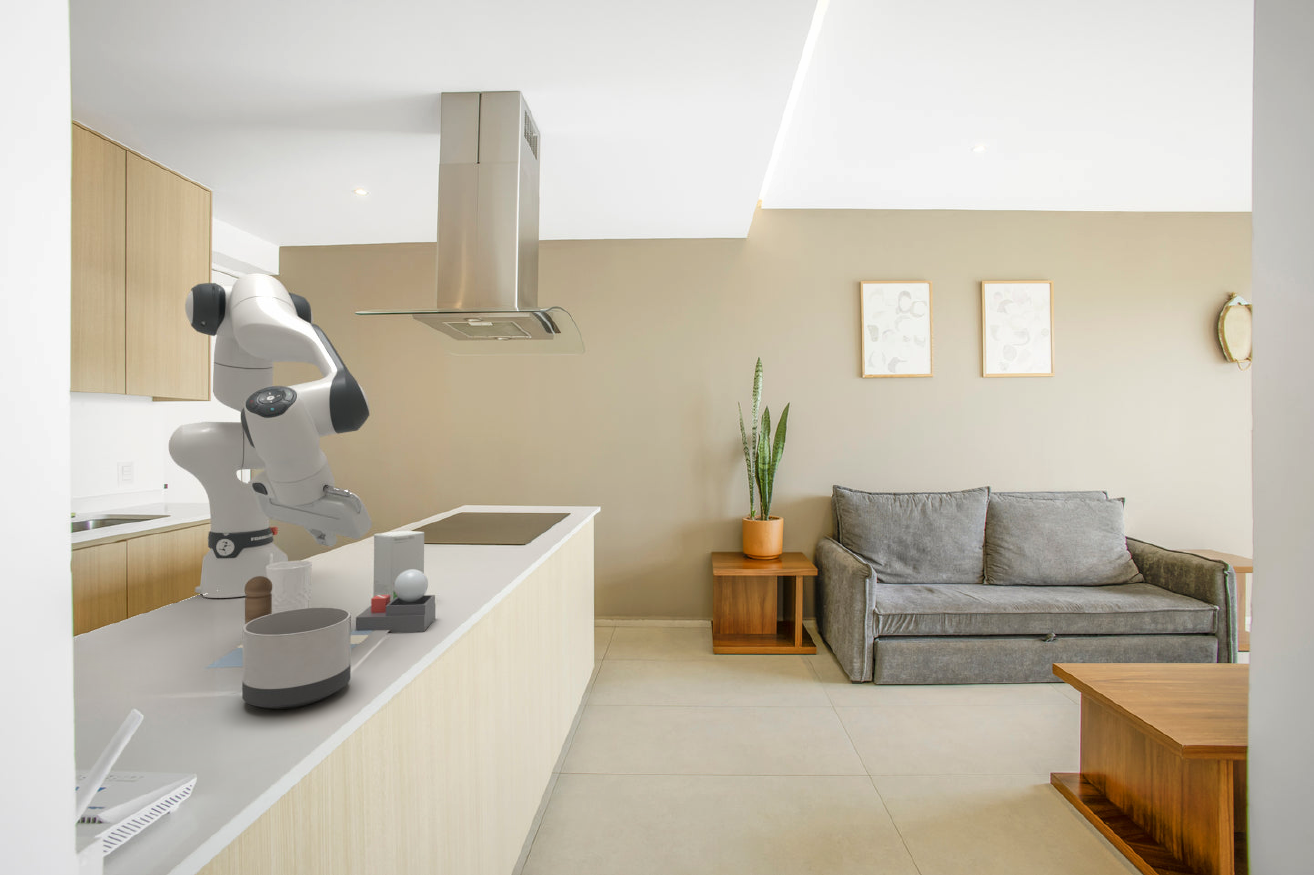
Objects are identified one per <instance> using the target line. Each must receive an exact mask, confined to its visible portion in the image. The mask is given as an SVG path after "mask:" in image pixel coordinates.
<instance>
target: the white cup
mask: <svg viewBox="0 0 1314 875" xmlns="http://www.w3.org/2000/svg"><path fill="white" fill-rule="evenodd" d="M312 563H313V562H311V561H309V560H288V561H286V562H279V563H274V564H270V565H268V566H266V578H268V579H269V580H270V581H271V582H272V591H271V594H272V614H273V613H277V612H282V611H287V610H293V609H301V608H309V603H310V601H309V600H310V597H311V596H310V595H311V585H312V584H311V583H312V569H313V568H312V567H313V564H312Z"/></svg>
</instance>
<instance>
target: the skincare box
mask: <svg viewBox="0 0 1314 875" xmlns="http://www.w3.org/2000/svg"><path fill="white" fill-rule="evenodd" d="M424 563H425V532H424V531H417V530H416V531H414V530H400V531H399V530H398V531H389V532H380V533H374V534H373V592H372V594H373V595H372V598H373V597H374V596H376V595H390V602H391V601H392V600H393V599H395V598H396V597H397V595H396V594H395V591H394V583H395V580H396V578H397V577H398V576H399V575H400V574H401V573H402V572H404V571H406V570H410V569H415V570H419V571H421V572H422V573H424V574H425V564H424Z"/></svg>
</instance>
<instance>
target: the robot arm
mask: <svg viewBox="0 0 1314 875" xmlns="http://www.w3.org/2000/svg"><path fill="white" fill-rule="evenodd" d="M185 299H186V300H185V303H184V308H185V309H184V310H185V314H186V317H187V319H188V321H189V323H190V327H192V328H193V329H194V330H195V331H196V332H197V333H201V334H202V335H203V334H204V335H208V336H212V337H216V338H215V343H214V352H213V372H212V393H213V396H214V397H215V399H216V400H217V401H218V402H220V403H221V404H222V405H224V406H226V407H228V408H229V409H230V408H231V409H232V410H235V411H238V412H240V422H239V421H238V422H236V421H235V422H234V421H233V422H232V421H225V422H224V421H202V422H193V423H188V424H182V425H179V426H178V427H177V428H176V429H175V430H174V432H172V434H171V436H170V438H169V442H168V451H169V454H170V455H169V456H170V457H171V459H172V460H173V462H174V463H175V464H176V465H177V466H179V467H180V468H181V469H184V470H185V471H187V472H189V474H191V475H192V476H193V477H194V478H196V479H197V481H198V482H199V483H200V484H201V485H202V486H203V489H204V490H205V493H206V494H207V498H208V501H209V502H208V504H209V513H210V531H209V532H208V537H207V547H208V548H209V550H208V552H207V553H205V555H204V556H203V558H202V564H201V566H202V567H201V575H200V585H198V586H195V588H194V589H195V590H194V593H197V594H200V595H201V594H205V593H208V594H206V595H203V596H202V597H203V598H210V599H211V598H212V599H213V598H214V599H218V598H219V599H222V598H223V599H224V598H225V599H226V598H238V597H246V594H245V592H244V588H245V585H246V583H247V582H248V581H249V580H250V579H252V578H254V577H257V576H264V577H266V566H268V565H270V564H274V563H279V562H286V561H289V558H288V554H286V553H285V552H284V551H283V550H281V549H280V548H279V547H278V546H277V545H276V544H275V543H274V542H275V541H274V537H273V536H277V535H278V533H279V528H278V527H277V526H272V527H271V526H270V520H273V521H279V522H282V523H287V524H291V525H295V526H299V527H304V529H305V531H307V533H309V535H310V536H311V537H313V538H314V541H315V543H316V544H317V545H321V546H325V547H329V548H332V547H333V546H335V544H337V542H338V539H337V536H336V535H338V536H342V537H347V538H350V539H355V540H359V539H360V538H362V537H363V536H365V534H367V532H368V531H370V529H372V526H373V521H372V518H371V516H370V514H369V511H368V509H367V507H366V505H365V504H364V502H363V501H362V499H361V498H360V497H359V495H357V494H355V493H353V492H351V491H350V490H349V489H346V488H340V487H335V484H336V480H335V478H334V475H333V472H332V469H331V466H330V463H329V461H328V457H327V455H326V454H325V453H324V451H323V450H322V448H321V445H320V438H322V437H327V436H331V435H335V434H339V435H340V434H344V433H350V432H358V430H360V428H362V426H364V424H365V422H366V421H367V420H368V418H369V417H370V402H369V399H368V396H367V394H366V392H365V390H364V388H363V387H362V386H361V385H360V384H359V382H358V381H357V380H356V378H355V377H354V376H353V374H352V373H351V372H350V370H349V369H348V368H347V366H346V364H345V362H344V361H343V360H342V358H341V356H340V354H339V353H338V351H337V350H336V348H335V347H334V345H333V343H332V342H331V340H330V338H328V336H327V334H326V333H325V332H324V331H323V329H322V328H321V327H320V326H319V325H318V324H316V323H314V315H313V311H312V308H311V304H310V303H309V301H308V300H307V299H306V298H305V297H304V296H302V295H299V294H296V293H292V292H288V290H287V289H286V287H285V286H284V285H283V283H281V281H280V280H279V279H277V278H275V277H274V276H271V275H269V274H265V273H260V272H252V273H247V274H245V275H242V276H240V278H238V279H236V281H235V282H234V283H233V285H232V284H230V285H229V284H217V283H216V282H206V283H198V284H196V285H194V286H193V287H191V288H190V291H189V293H188V295H187V297H186V298H185ZM285 362H286V363H307V364H311V365H314V366H316V367H317V368H318V370H319V372H320V373H321V375H322V377H323V378H321V379H318V380H313V381H309V382H302V383H298V384H293V385H288V386H283V385H275V386H274V363H285ZM242 470H262V471H261V472H259V473H258V474H256V475H255V476H254V477H253V478H251V479H249V481H248V482H244V481H242V480H240V479H239V478H238V474H237V472H238V471H242ZM217 590H218V591H217Z"/></svg>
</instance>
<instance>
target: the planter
mask: <svg viewBox="0 0 1314 875" xmlns="http://www.w3.org/2000/svg"><path fill="white" fill-rule="evenodd" d="M351 617H352V614H351V612H350V610H348V609H346V608H345V609H344V608H341V607H331V606H318V607H317V606H316V607H315V606H314V607H308V608H301V609H293V610H287V611H282V612H277V613H273V614H269V615H265V616H262V617H259V618H256V619H254V620H252V621H250V622H248V623H247V624H245V623H244V625H243V627H242V644H243V659H242V667H241V668H242V678H241V681H242V682H241V683H242V687H241V692H242V693H241V694H242V695H241V698H242V700H243V701H244V702H245V703H246V704H249V705H251V706H253V707H254V706H255V707H260V708H265V709H266V708H267V709H274V710H279V709H281V710H283V709H285V710H286V709H287V710H288V709H295V708H300V707H305V706H308V705H311V703H312V704H314V703H317V702H320V701H321V700H324V699H325V698H328V697H330V696H331V695H333V694H334V693H337V692H338V691H340V690H341V689H343V688H344V687H346V685H348V683H349V682H350V680H351V666H352V665H351V661H352V660H351V656H352V655H351V652H352V650H351V631H352V629H351V626H352V620H351V619H352V618H351Z"/></svg>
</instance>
